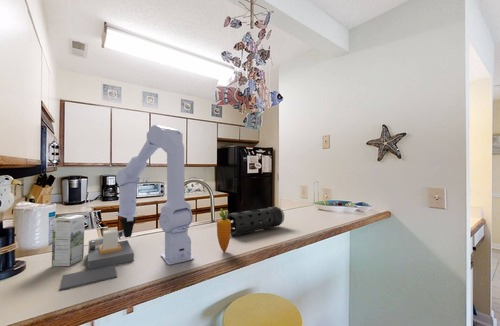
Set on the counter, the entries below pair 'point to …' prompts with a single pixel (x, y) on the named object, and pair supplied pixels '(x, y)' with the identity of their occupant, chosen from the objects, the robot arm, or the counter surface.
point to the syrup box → (68, 240)
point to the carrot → (223, 230)
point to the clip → (101, 241)
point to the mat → (88, 277)
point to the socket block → (110, 256)
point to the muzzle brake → (255, 220)
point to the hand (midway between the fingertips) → (127, 236)
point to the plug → (110, 242)
